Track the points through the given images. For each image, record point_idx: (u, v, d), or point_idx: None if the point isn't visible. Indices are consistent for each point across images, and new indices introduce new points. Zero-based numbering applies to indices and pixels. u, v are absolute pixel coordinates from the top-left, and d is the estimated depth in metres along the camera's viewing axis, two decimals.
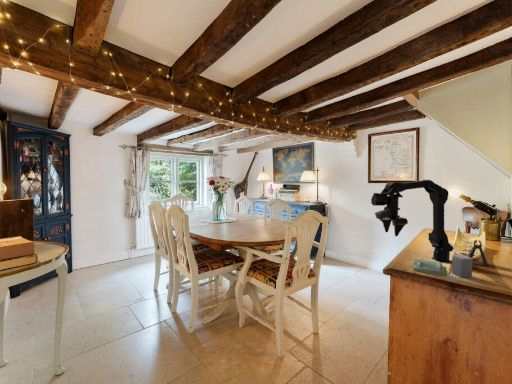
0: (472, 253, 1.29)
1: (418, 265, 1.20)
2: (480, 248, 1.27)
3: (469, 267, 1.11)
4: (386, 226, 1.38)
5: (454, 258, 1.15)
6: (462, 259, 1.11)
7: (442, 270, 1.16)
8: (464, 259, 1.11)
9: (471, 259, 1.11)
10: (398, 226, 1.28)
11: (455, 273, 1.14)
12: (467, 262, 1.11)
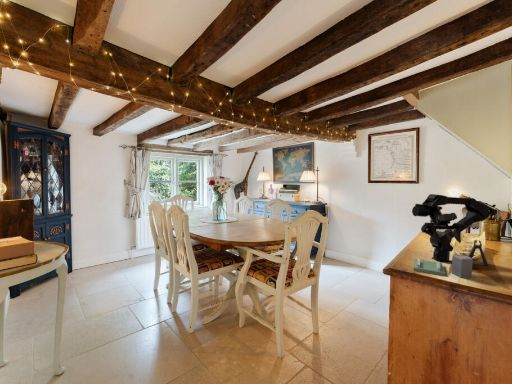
0: (472, 253, 1.29)
1: (418, 265, 1.20)
2: (480, 248, 1.27)
3: (469, 267, 1.11)
4: None
5: (454, 258, 1.15)
6: (462, 259, 1.11)
7: (442, 270, 1.16)
8: (464, 259, 1.11)
9: (471, 259, 1.11)
10: None
11: (455, 273, 1.14)
12: (467, 262, 1.11)
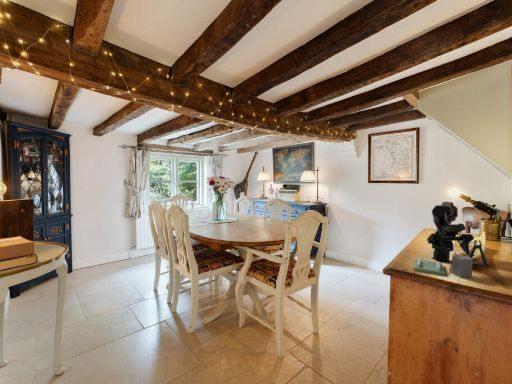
0: (472, 253, 1.29)
1: (418, 265, 1.20)
2: (480, 248, 1.27)
3: (469, 267, 1.11)
4: None
5: (454, 258, 1.15)
6: (462, 259, 1.11)
7: (442, 270, 1.16)
8: (464, 259, 1.11)
9: (471, 259, 1.11)
10: None
11: (455, 273, 1.14)
12: (467, 262, 1.11)
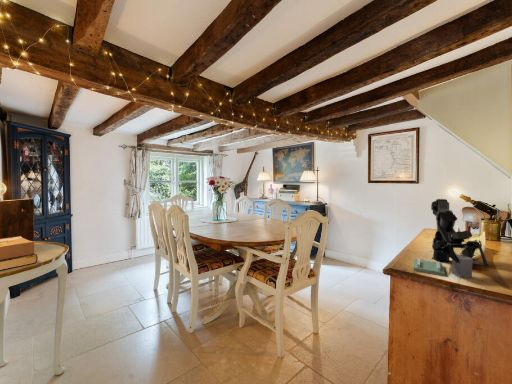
0: (472, 253, 1.29)
1: (418, 265, 1.20)
2: (480, 248, 1.27)
3: (469, 267, 1.11)
4: None
5: None
6: (462, 259, 1.11)
7: (442, 270, 1.16)
8: (464, 259, 1.11)
9: (471, 259, 1.11)
10: None
11: (455, 273, 1.14)
12: (467, 262, 1.11)
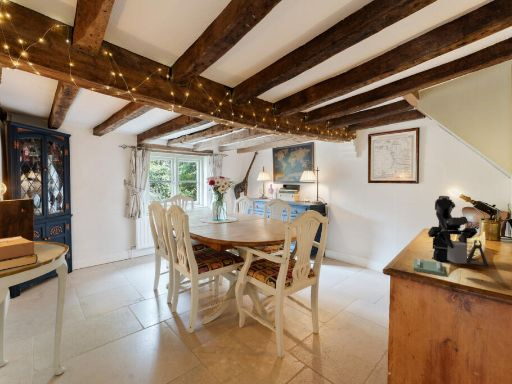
0: (472, 253, 1.29)
1: (418, 265, 1.20)
2: (480, 248, 1.27)
3: (464, 253, 1.12)
4: None
5: None
6: (456, 244, 1.12)
7: (442, 270, 1.16)
8: (458, 244, 1.12)
9: (466, 244, 1.11)
10: None
11: (450, 259, 1.15)
12: (461, 247, 1.12)
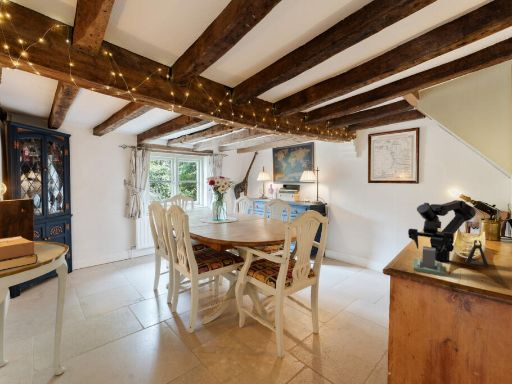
0: (472, 253, 1.29)
1: (418, 265, 1.20)
2: (480, 248, 1.27)
3: (432, 258, 1.19)
4: (417, 242, 1.25)
5: None
6: (423, 249, 1.21)
7: (442, 270, 1.16)
8: (425, 249, 1.20)
9: (434, 251, 1.18)
10: None
11: None
12: (429, 253, 1.20)
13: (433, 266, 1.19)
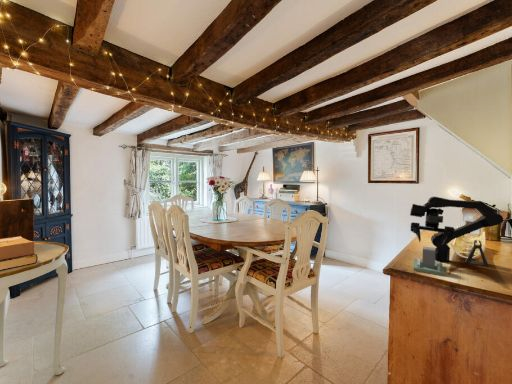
0: (472, 253, 1.29)
1: (418, 265, 1.20)
2: (480, 248, 1.27)
3: (432, 258, 1.19)
4: (419, 235, 1.31)
5: None
6: (423, 249, 1.21)
7: (442, 270, 1.16)
8: (425, 249, 1.20)
9: (434, 251, 1.18)
10: None
11: None
12: (429, 253, 1.20)
13: (433, 266, 1.19)
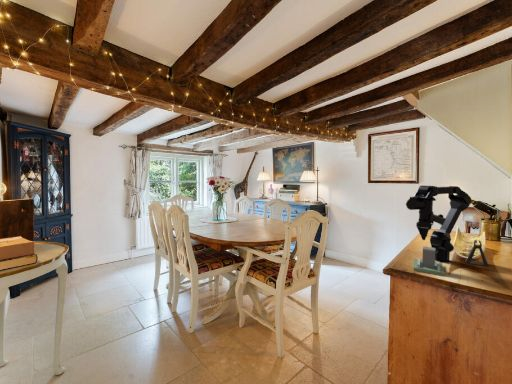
0: (472, 253, 1.29)
1: (418, 265, 1.20)
2: (480, 248, 1.27)
3: (432, 258, 1.19)
4: None
5: None
6: (423, 249, 1.21)
7: (442, 270, 1.16)
8: (425, 249, 1.20)
9: (434, 251, 1.18)
10: None
11: None
12: (429, 253, 1.20)
13: (433, 266, 1.19)
